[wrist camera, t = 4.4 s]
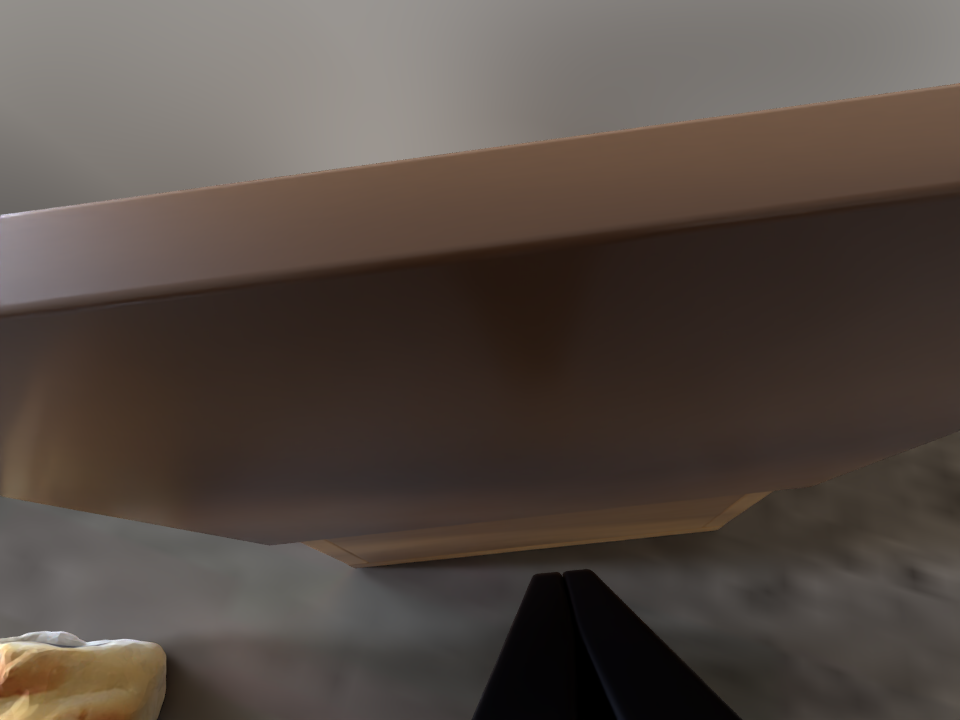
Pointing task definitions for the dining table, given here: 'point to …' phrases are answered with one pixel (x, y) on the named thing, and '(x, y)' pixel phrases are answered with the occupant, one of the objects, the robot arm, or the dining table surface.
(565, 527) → the caddy
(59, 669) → the pastry
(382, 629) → the dining table surface
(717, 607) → the dining table surface
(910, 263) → the lid
